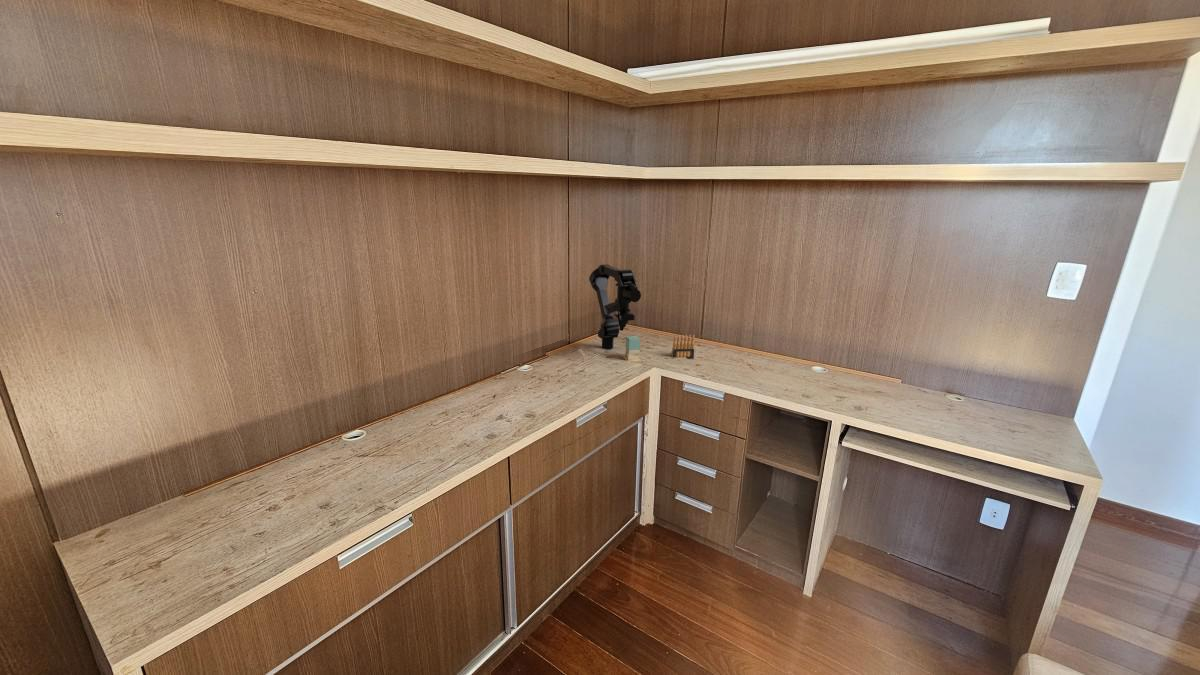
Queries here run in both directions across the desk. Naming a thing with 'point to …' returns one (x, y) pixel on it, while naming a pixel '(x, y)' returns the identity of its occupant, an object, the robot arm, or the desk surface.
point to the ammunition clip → (683, 347)
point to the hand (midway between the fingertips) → (621, 330)
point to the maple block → (632, 354)
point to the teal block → (632, 343)
